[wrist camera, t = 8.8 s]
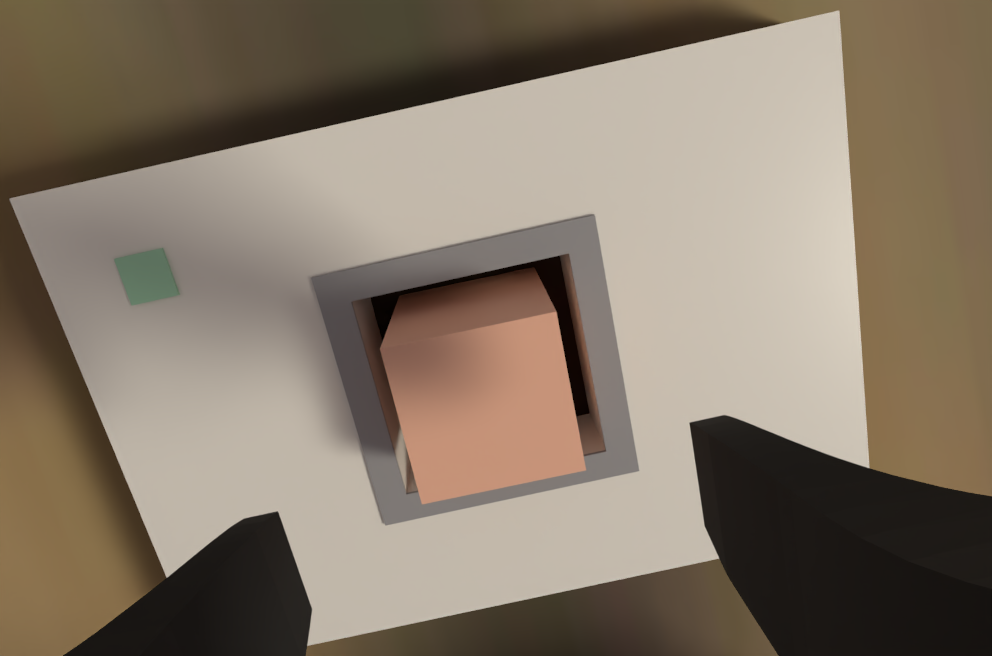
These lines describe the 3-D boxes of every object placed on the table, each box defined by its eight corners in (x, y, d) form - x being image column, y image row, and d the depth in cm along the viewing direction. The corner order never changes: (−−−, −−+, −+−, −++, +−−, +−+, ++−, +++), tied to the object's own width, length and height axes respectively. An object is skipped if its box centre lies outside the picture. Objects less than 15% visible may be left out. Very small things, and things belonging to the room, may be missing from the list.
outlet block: (829, 483, 22) (874, 527, 20) (231, 610, 23) (203, 670, 20) (790, 25, 18) (841, 9, 16) (67, 189, 19) (6, 198, 16)
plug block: (558, 391, 21) (586, 470, 16) (430, 418, 21) (421, 504, 17) (534, 266, 20) (556, 311, 15) (399, 295, 20) (380, 349, 15)
